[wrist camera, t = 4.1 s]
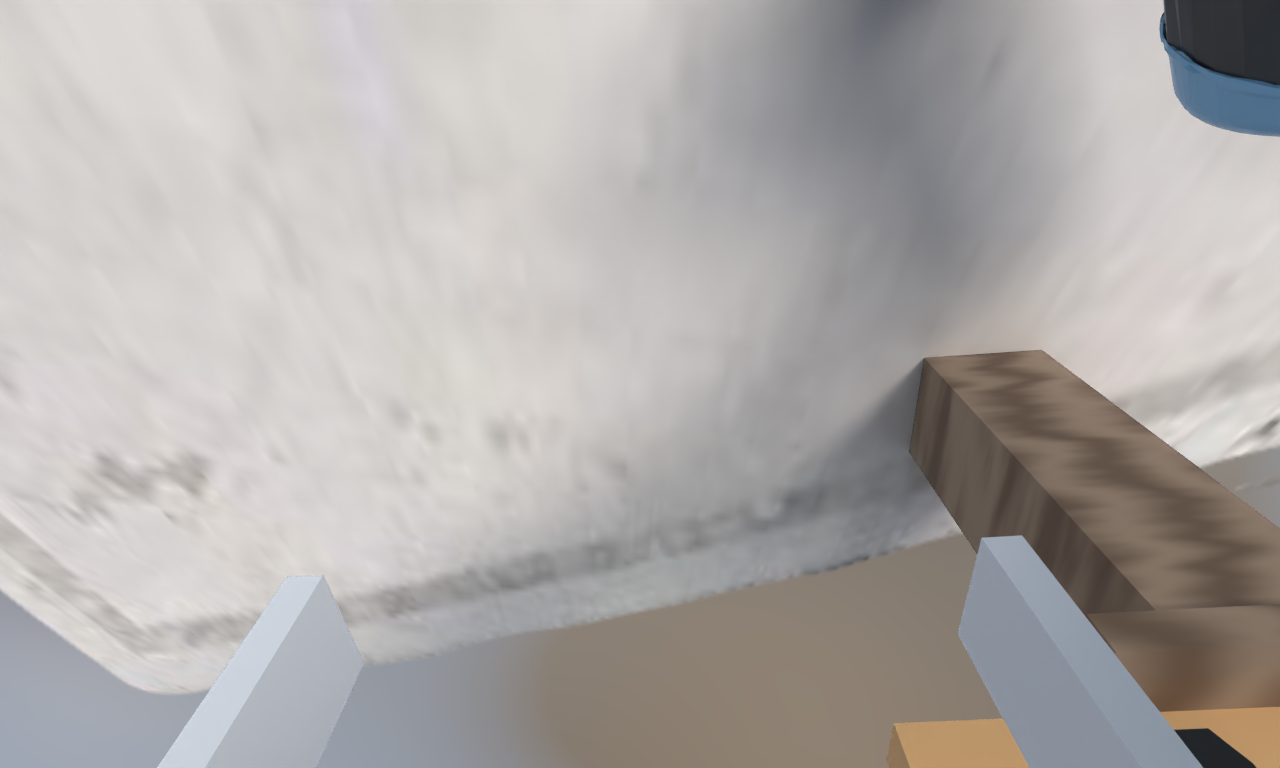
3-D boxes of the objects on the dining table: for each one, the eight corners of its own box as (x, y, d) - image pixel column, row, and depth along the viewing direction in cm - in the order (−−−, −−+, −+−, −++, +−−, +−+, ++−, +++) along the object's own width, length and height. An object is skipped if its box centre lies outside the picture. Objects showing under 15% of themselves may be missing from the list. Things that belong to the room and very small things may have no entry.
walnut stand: (865, 463, 58) (1048, 801, 32) (879, 351, 52) (1115, 651, 26) (1057, 451, 57) (1406, 788, 31) (1092, 336, 52) (1557, 630, 25)
